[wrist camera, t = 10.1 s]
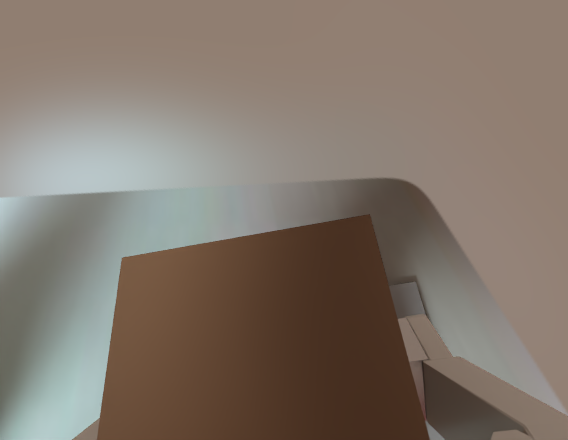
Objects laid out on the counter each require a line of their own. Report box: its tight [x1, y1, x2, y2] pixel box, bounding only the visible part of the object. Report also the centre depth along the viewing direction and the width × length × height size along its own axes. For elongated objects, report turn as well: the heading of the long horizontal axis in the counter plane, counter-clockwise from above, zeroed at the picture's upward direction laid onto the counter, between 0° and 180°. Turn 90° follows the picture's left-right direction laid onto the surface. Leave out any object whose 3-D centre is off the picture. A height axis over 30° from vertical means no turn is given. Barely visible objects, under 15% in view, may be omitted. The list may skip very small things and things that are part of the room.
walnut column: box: [97, 214, 430, 440], centre depth 9 cm, size 4×4×10 cm
